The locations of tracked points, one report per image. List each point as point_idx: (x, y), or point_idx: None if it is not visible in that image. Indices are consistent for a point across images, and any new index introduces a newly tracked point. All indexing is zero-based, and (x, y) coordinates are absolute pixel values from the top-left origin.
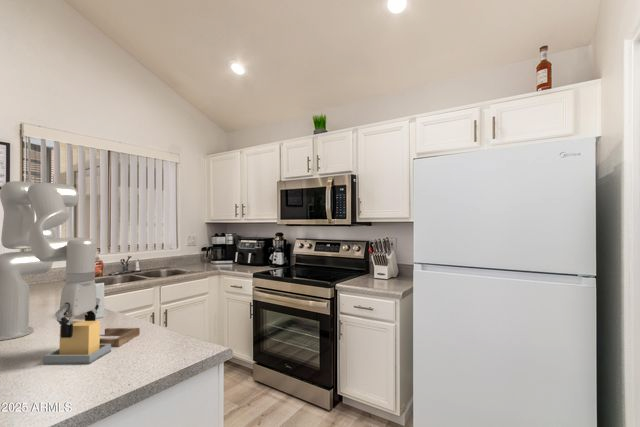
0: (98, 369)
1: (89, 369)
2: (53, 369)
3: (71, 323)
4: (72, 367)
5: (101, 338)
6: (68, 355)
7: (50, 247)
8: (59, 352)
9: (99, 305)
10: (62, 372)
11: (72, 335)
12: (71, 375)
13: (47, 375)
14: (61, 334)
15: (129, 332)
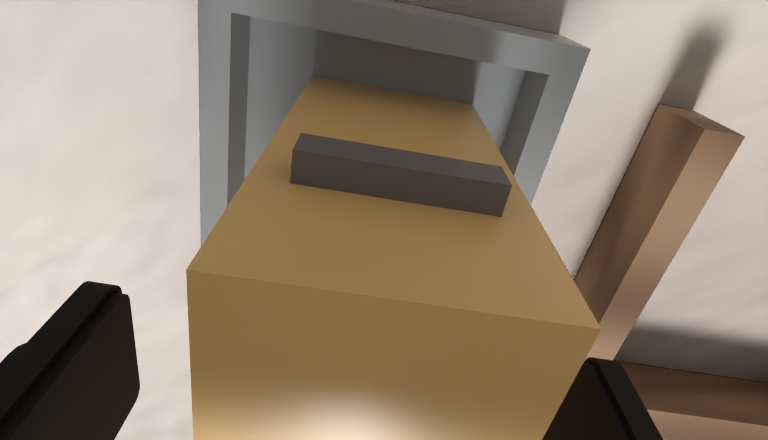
0: (148, 398)
1: (145, 359)
2: (125, 138)
3: (365, 398)
4: (170, 254)
5: (646, 297)
6: (209, 229)
7: None
8: (303, 91)
9: None
10: (83, 233)
11: (124, 409)
12: (50, 307)
13: (19, 158)
14: (63, 317)
15: (719, 433)
